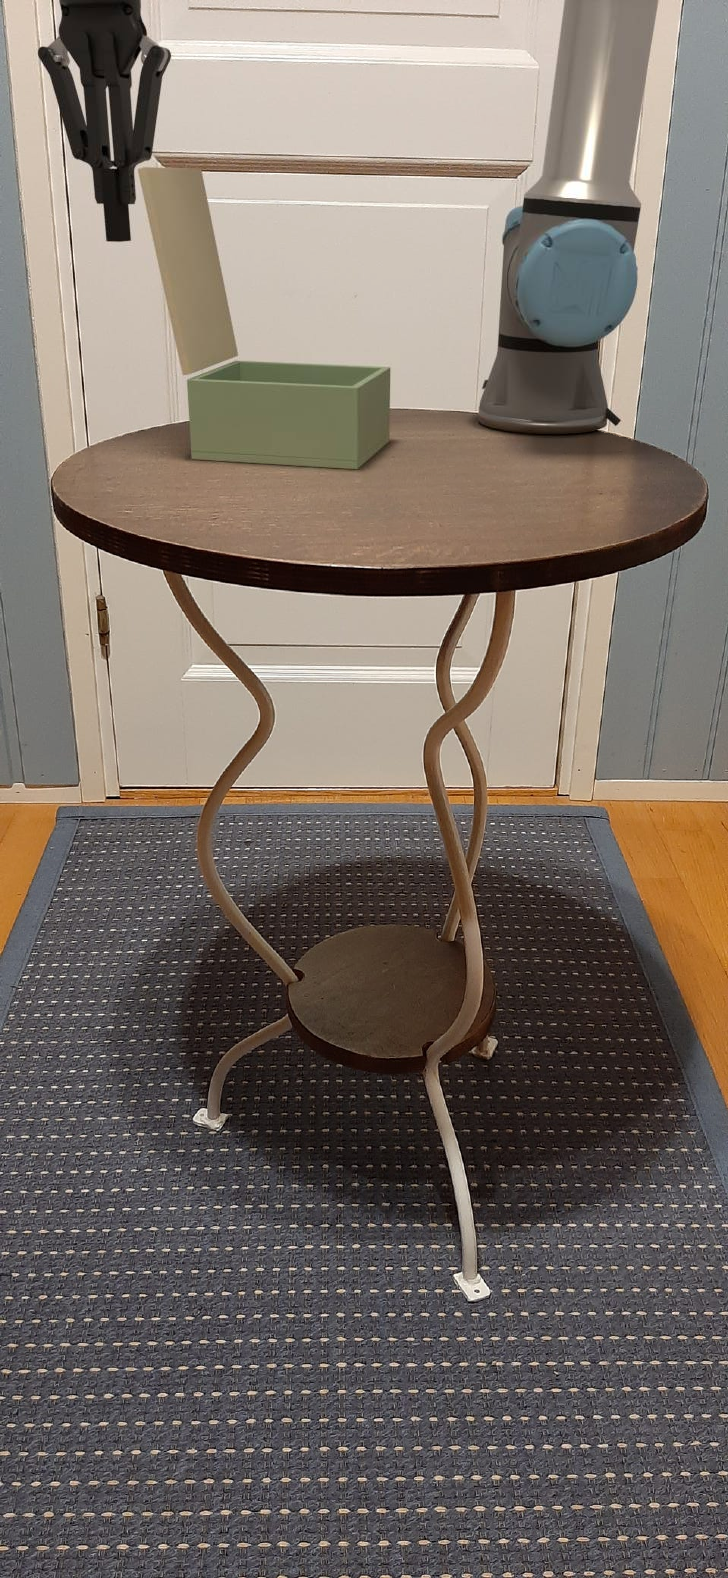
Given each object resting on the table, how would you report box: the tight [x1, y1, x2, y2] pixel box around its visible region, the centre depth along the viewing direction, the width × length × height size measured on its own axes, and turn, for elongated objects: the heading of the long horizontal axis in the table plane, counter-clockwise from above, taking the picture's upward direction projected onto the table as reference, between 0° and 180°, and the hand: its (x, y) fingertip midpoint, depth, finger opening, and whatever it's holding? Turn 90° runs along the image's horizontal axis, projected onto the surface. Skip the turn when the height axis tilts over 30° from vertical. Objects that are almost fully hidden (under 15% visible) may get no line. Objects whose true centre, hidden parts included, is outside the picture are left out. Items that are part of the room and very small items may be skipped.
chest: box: [186, 360, 391, 470], centre depth 121 cm, size 18×15×8 cm
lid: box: [137, 166, 239, 376], centre depth 117 cm, size 18×15×1 cm
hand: (118, 240), depth 117 cm, fingers closed
